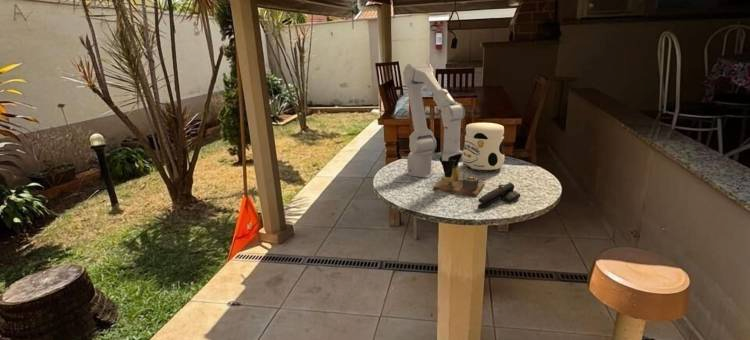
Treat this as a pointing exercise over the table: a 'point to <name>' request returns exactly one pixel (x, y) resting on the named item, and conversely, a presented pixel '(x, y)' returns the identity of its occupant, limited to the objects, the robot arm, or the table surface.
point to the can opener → (499, 195)
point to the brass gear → (453, 175)
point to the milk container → (483, 147)
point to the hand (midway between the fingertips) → (450, 174)
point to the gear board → (460, 186)
